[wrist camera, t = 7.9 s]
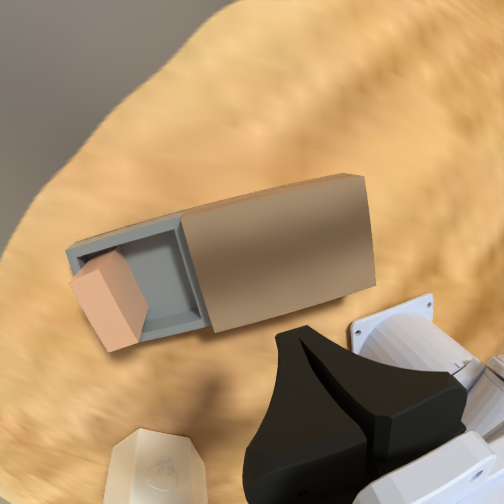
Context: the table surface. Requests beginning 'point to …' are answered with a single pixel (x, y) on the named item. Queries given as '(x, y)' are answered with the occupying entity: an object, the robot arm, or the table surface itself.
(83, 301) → the peach flat square block
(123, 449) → the jar
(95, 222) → the table surface
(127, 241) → the tray
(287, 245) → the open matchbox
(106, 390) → the table surface
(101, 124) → the table surface
